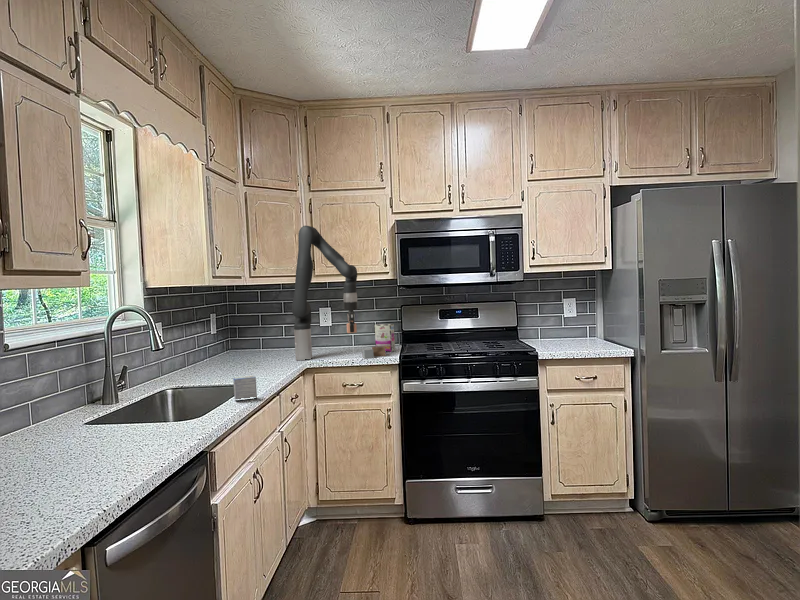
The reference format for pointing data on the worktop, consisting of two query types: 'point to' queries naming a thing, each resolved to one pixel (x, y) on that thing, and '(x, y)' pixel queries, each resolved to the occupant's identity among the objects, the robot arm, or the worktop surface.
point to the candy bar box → (385, 336)
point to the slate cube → (367, 353)
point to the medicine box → (245, 387)
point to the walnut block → (379, 351)
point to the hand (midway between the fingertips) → (351, 331)
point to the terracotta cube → (349, 328)
